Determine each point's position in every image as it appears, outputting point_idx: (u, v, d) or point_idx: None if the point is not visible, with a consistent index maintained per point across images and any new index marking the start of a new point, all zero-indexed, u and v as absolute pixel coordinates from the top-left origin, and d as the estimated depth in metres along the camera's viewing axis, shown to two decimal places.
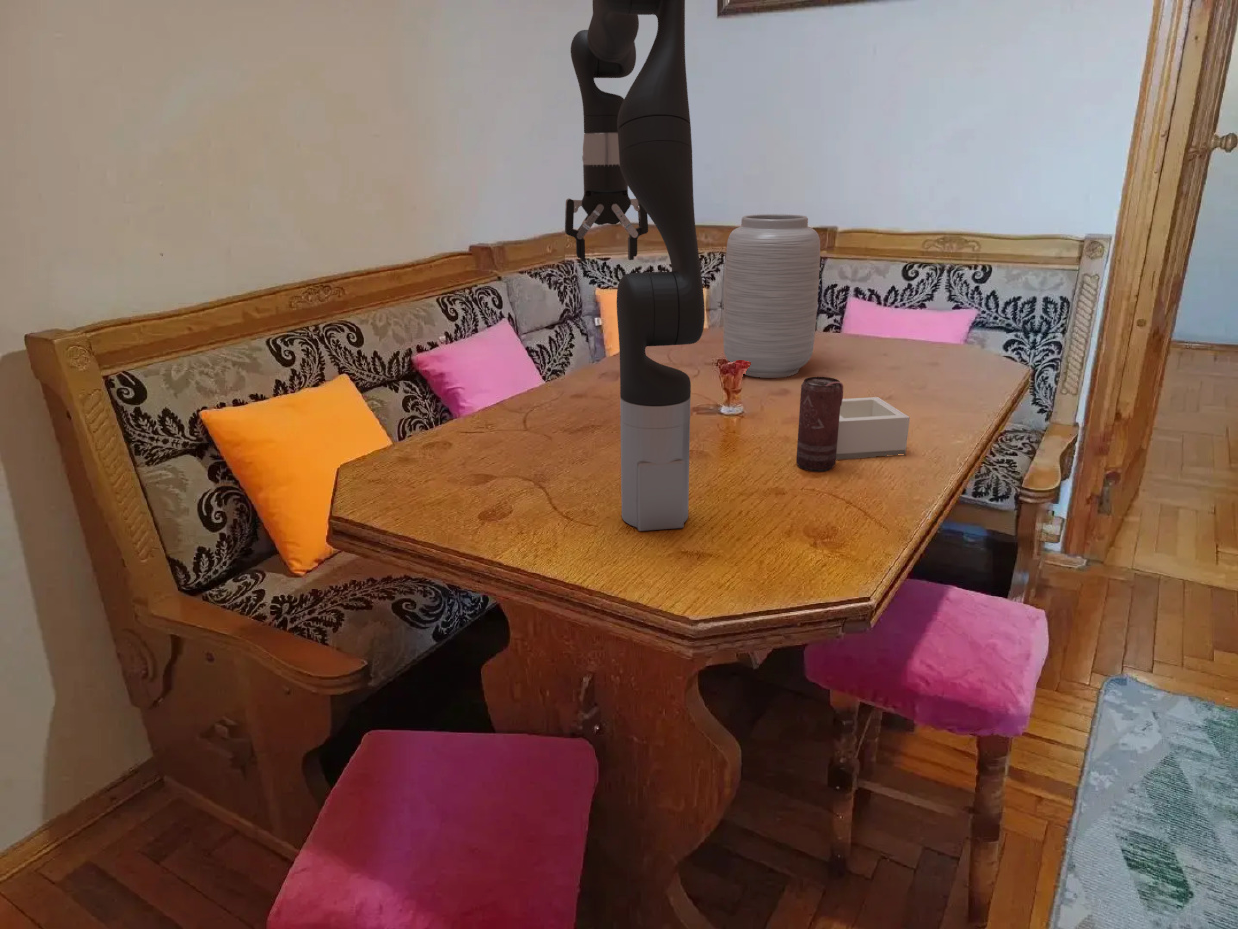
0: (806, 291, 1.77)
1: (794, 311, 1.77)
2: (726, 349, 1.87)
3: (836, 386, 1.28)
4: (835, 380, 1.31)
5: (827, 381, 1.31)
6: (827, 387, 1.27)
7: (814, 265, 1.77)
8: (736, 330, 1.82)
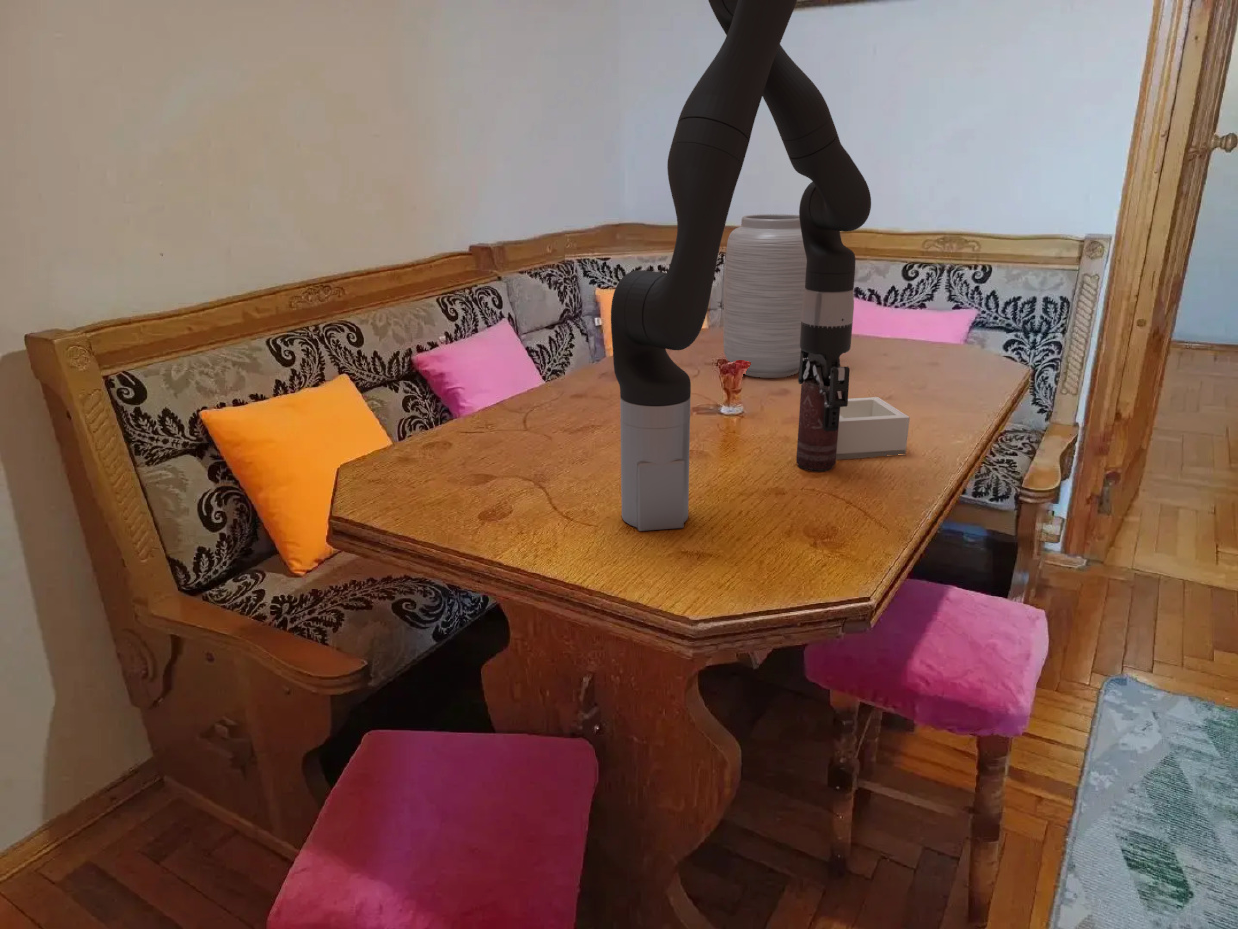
0: None
1: (794, 311, 1.77)
2: (726, 349, 1.87)
3: None
4: None
5: None
6: None
7: None
8: (736, 330, 1.82)
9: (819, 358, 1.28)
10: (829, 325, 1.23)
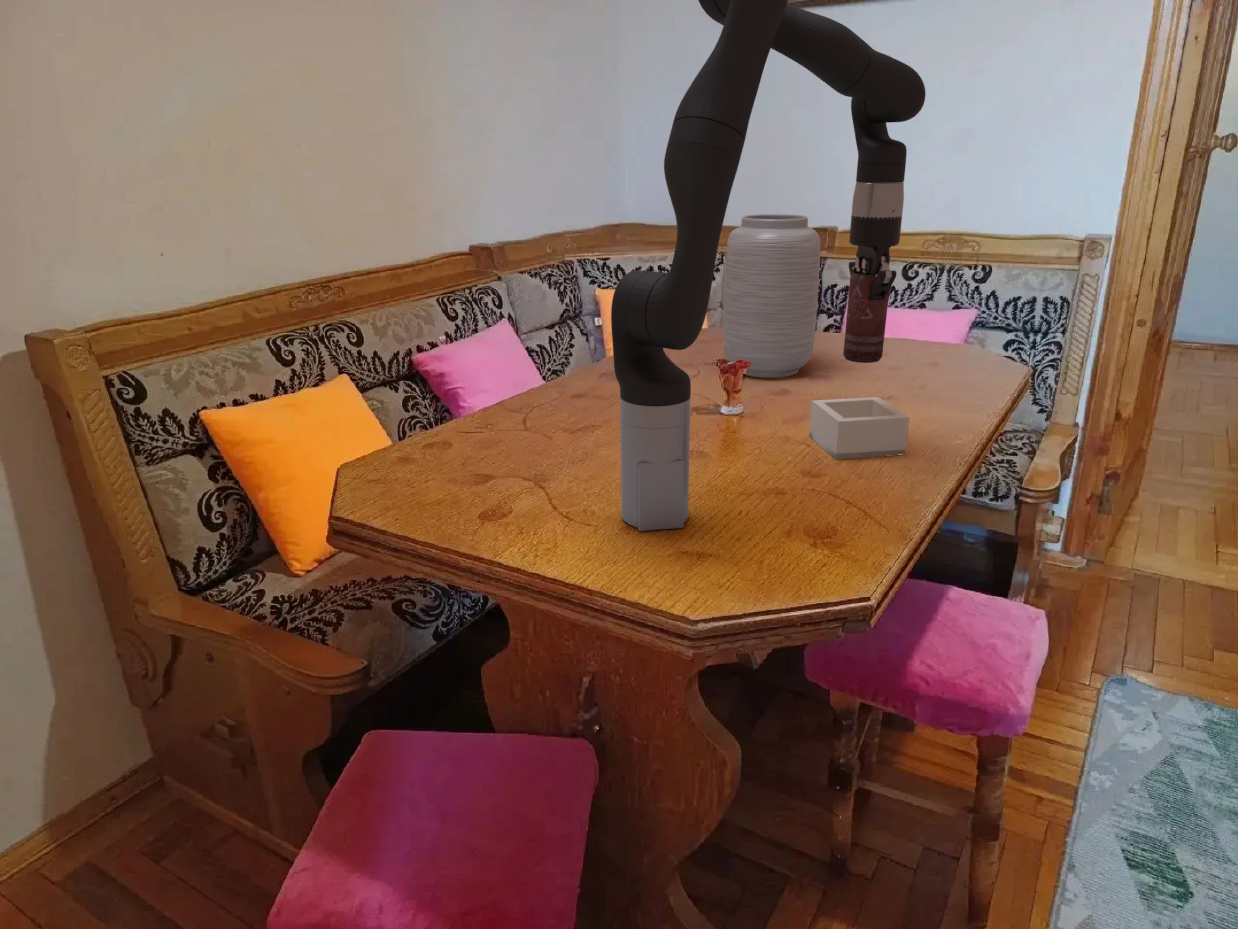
0: (806, 291, 1.77)
1: (794, 311, 1.77)
2: (726, 349, 1.87)
3: None
4: None
5: None
6: None
7: (814, 265, 1.77)
8: (736, 330, 1.82)
9: (868, 252, 1.31)
10: (880, 216, 1.26)
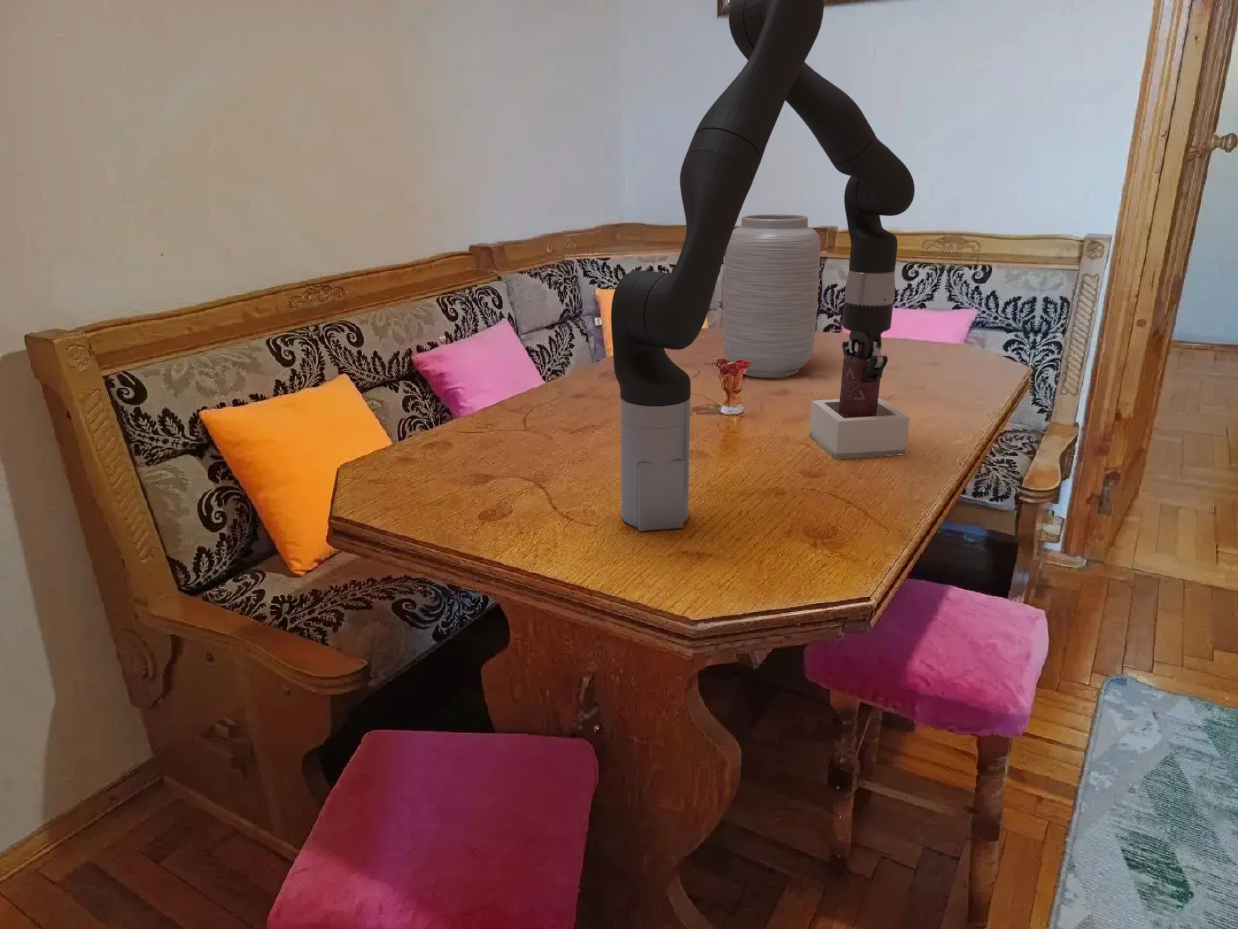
0: (806, 291, 1.77)
1: (794, 311, 1.77)
2: (726, 349, 1.87)
3: None
4: None
5: None
6: None
7: (814, 265, 1.77)
8: (736, 330, 1.82)
9: (861, 336, 1.36)
10: (872, 304, 1.31)
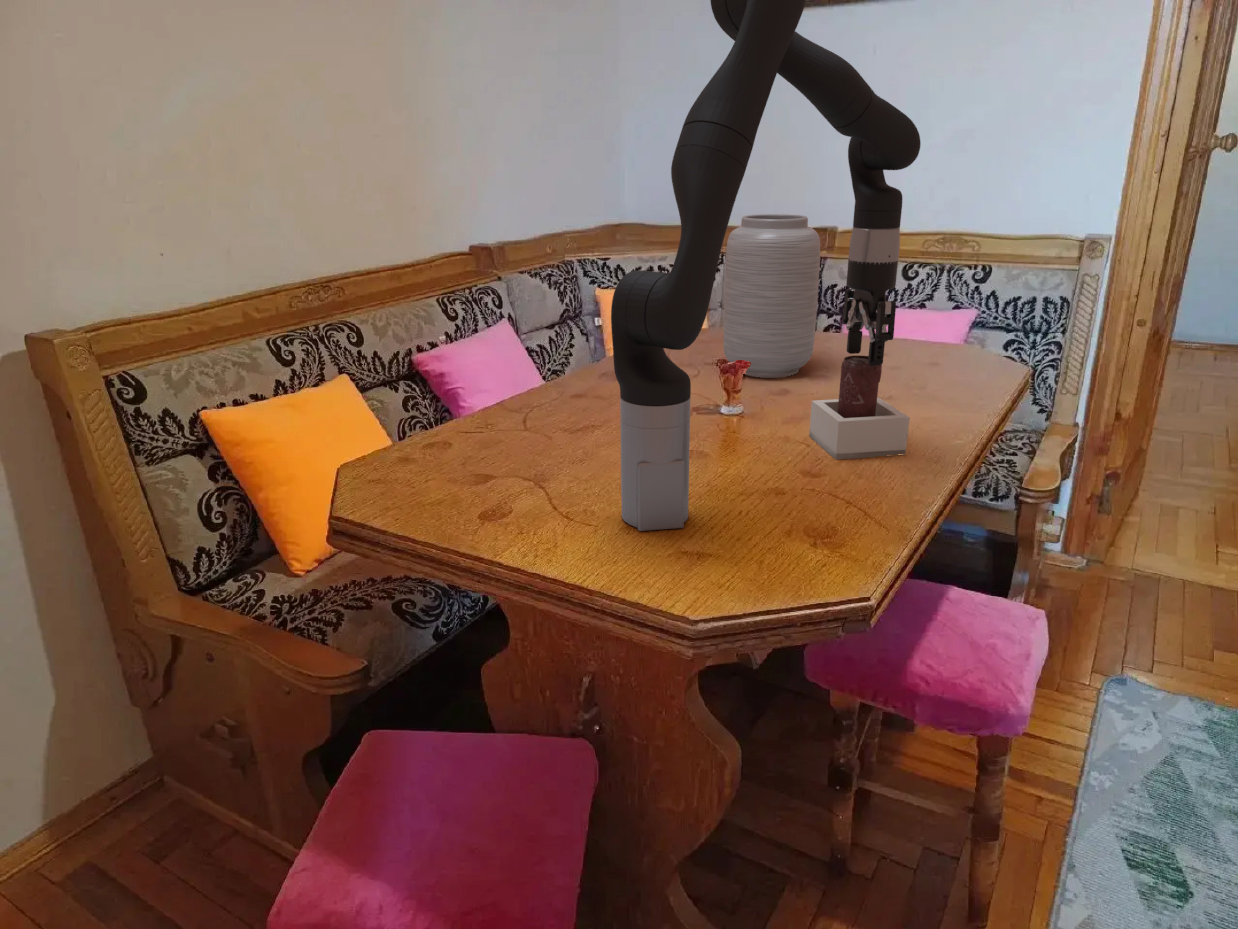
0: (806, 291, 1.77)
1: (794, 311, 1.77)
2: (726, 349, 1.87)
3: None
4: None
5: (866, 359, 1.39)
6: (867, 364, 1.36)
7: (814, 265, 1.77)
8: (736, 330, 1.82)
9: (865, 295, 1.33)
10: (876, 261, 1.29)
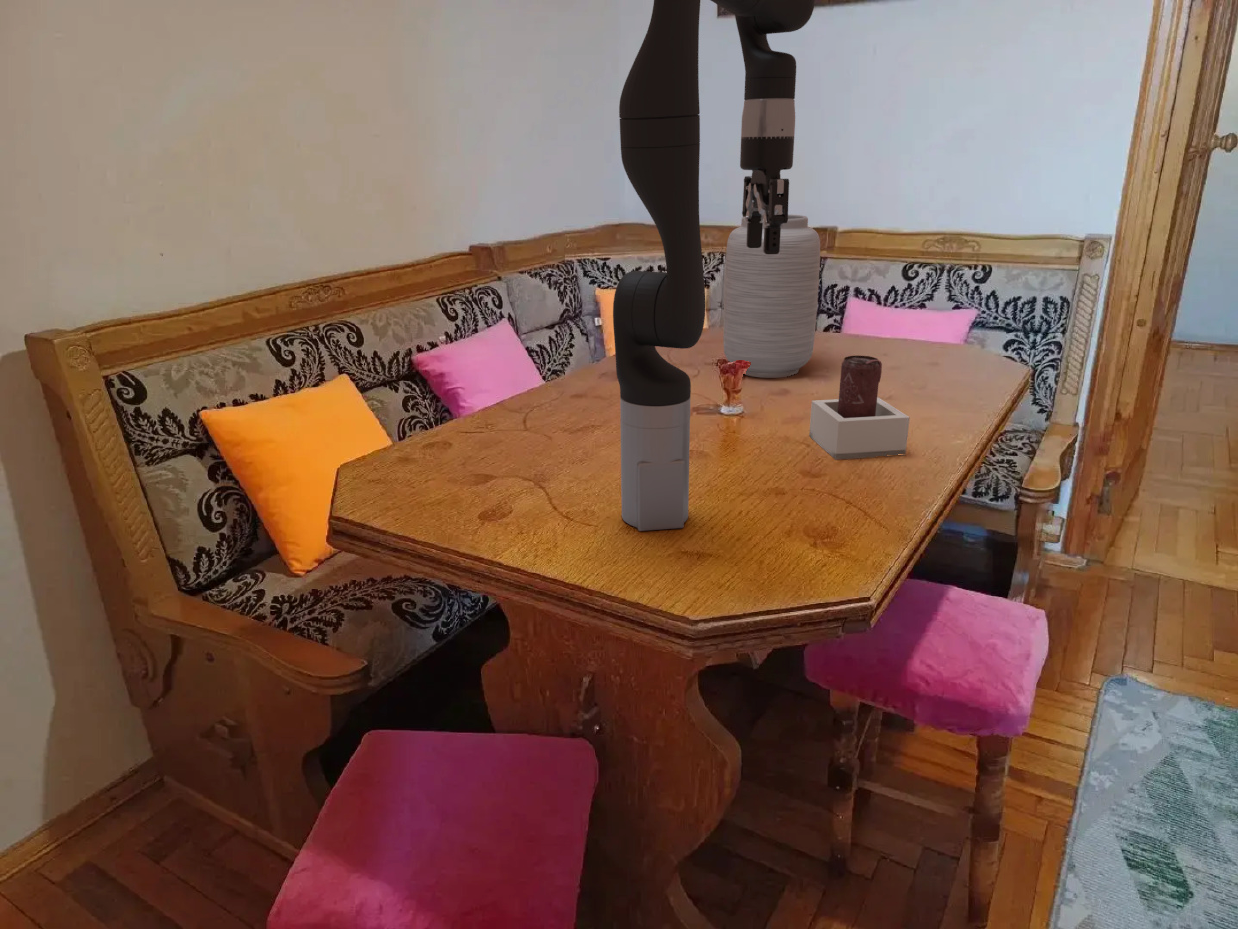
0: (806, 291, 1.77)
1: (794, 311, 1.77)
2: (726, 349, 1.87)
3: (875, 363, 1.36)
4: (873, 358, 1.39)
5: (866, 359, 1.39)
6: (867, 364, 1.36)
7: (814, 265, 1.77)
8: (736, 330, 1.82)
9: (759, 177, 1.22)
10: (768, 135, 1.17)
